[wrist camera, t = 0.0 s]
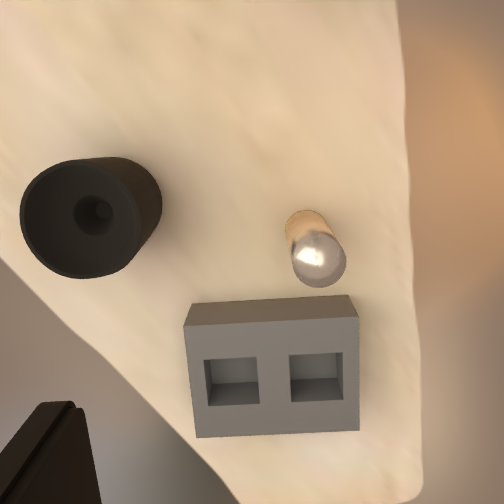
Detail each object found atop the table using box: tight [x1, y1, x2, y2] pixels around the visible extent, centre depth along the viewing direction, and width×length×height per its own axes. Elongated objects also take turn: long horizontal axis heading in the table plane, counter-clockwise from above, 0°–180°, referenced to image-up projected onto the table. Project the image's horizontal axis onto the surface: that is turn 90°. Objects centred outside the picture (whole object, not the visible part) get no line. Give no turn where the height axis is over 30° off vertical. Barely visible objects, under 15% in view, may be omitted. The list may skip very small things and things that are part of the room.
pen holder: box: [19, 157, 162, 279], centre depth 40 cm, size 9×9×10 cm
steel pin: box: [285, 210, 346, 288], centre depth 40 cm, size 4×4×11 cm
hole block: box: [183, 295, 360, 438], centre depth 46 cm, size 12×16×6 cm
